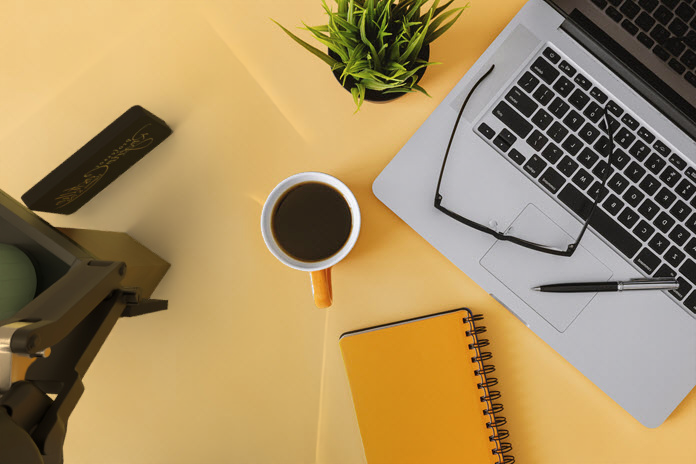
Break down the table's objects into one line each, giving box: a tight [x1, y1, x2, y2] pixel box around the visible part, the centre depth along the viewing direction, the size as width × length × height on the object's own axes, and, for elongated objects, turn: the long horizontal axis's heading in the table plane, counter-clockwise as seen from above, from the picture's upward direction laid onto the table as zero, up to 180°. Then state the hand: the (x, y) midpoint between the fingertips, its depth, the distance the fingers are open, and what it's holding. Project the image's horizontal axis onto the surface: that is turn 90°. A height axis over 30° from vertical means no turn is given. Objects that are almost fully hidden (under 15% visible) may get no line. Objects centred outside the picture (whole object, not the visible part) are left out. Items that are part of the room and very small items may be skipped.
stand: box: [54, 226, 172, 319], centre depth 62 cm, size 9×9×26 cm
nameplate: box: [20, 104, 173, 216], centre depth 71 cm, size 21×2×10 cm, turn 129°
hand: (143, 389), depth 38 cm, fingers open, 13 cm apart
